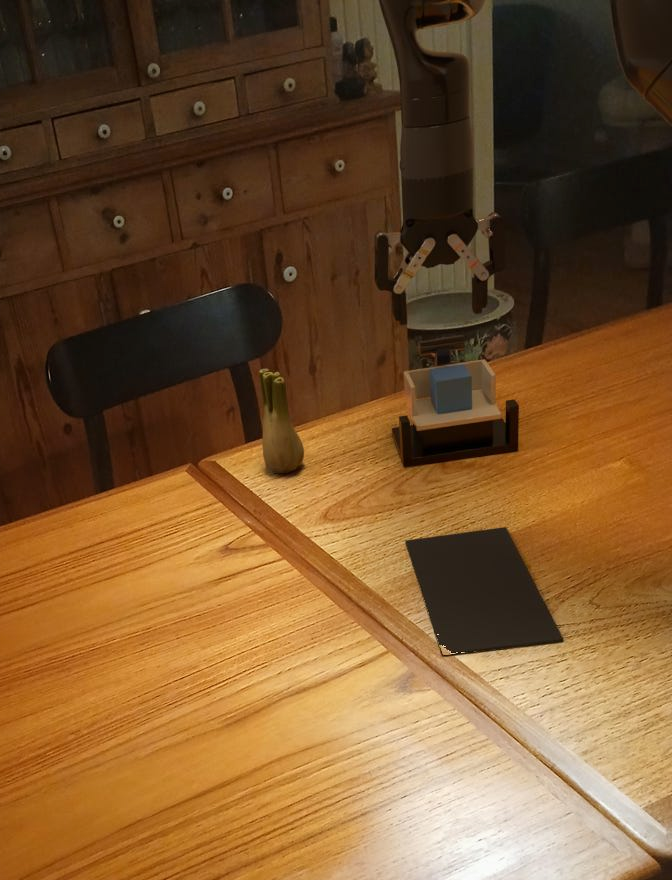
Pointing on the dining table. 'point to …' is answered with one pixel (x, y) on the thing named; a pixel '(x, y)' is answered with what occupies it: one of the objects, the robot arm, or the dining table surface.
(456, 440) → the stand
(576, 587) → the dining table surface
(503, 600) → the mat
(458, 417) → the open storage bin
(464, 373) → the block
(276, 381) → the fennel bulb
